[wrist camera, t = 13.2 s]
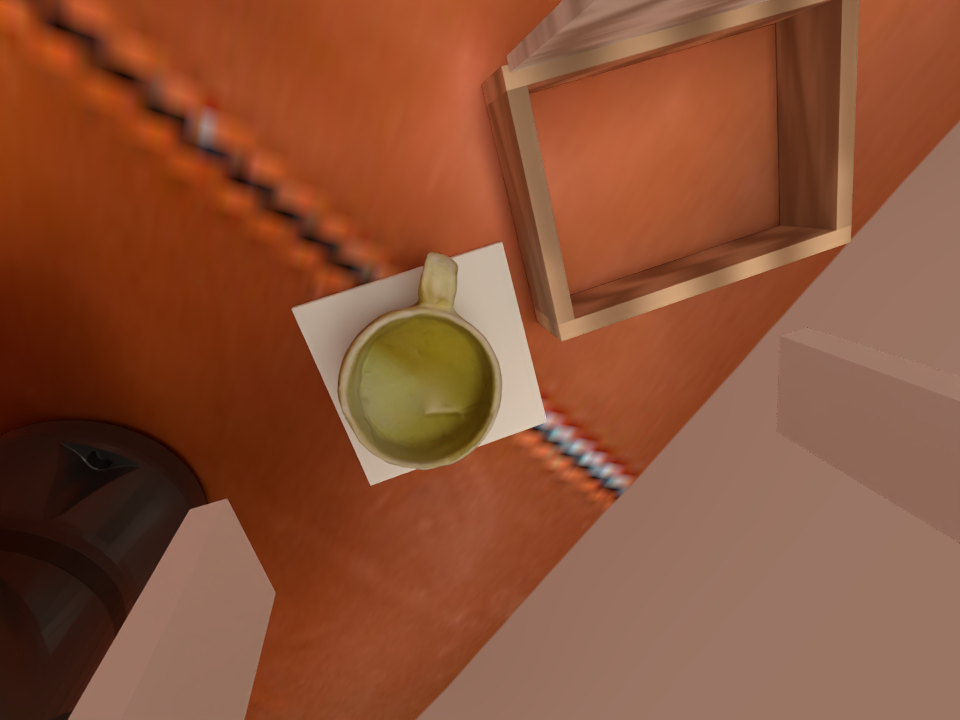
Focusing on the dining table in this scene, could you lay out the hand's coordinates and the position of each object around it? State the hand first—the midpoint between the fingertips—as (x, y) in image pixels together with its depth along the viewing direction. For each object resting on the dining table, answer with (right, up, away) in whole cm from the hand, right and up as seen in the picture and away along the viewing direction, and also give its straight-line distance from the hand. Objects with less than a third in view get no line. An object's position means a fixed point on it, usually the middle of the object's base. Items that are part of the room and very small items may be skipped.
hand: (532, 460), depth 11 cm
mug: (-4, +1, +24) cm, 25 cm away
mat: (-5, +2, +25) cm, 25 cm away
